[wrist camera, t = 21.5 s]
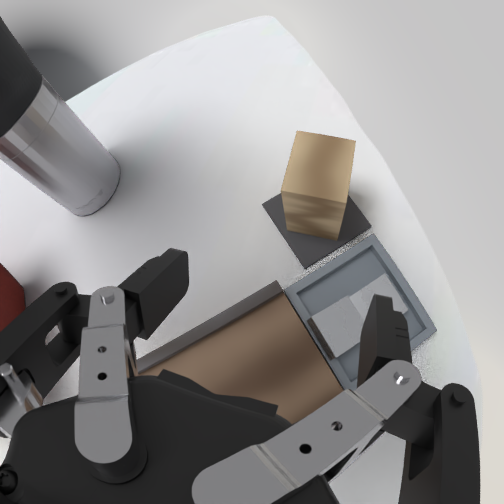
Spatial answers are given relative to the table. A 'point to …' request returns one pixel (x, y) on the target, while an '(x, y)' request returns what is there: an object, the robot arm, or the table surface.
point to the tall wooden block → (317, 184)
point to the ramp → (252, 356)
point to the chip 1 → (337, 327)
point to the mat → (313, 246)
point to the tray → (348, 283)
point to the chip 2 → (381, 288)
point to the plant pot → (10, 298)
